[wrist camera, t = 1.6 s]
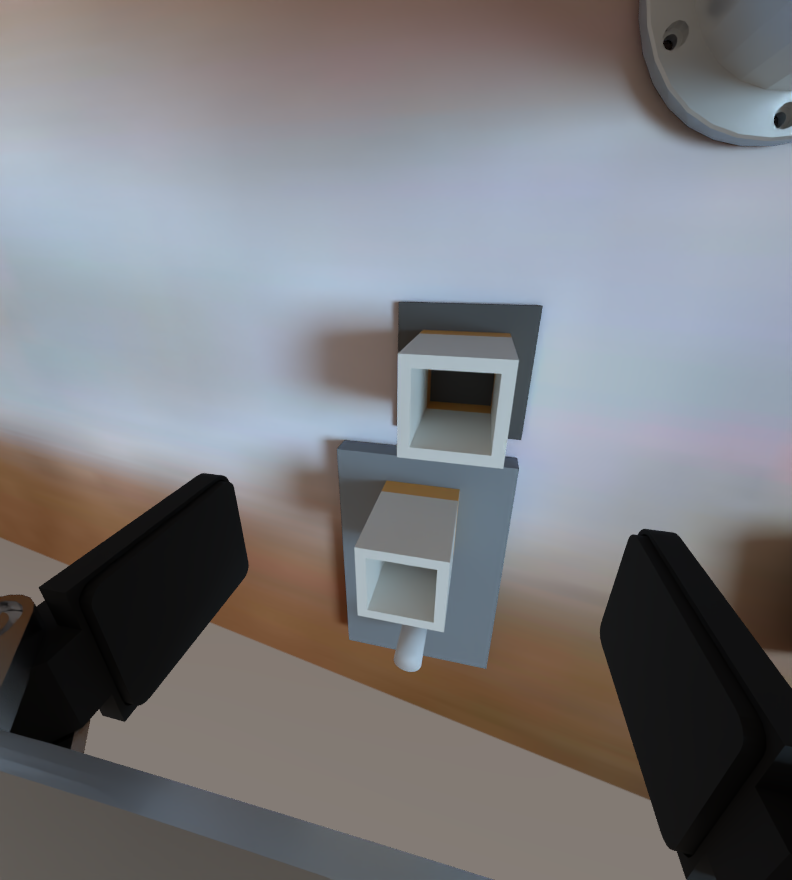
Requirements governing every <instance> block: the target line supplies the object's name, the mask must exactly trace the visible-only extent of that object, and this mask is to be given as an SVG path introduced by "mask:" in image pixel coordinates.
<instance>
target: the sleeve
mask: <svg viewBox="0 0 792 880" xmlns="http://www.w3.org/2000/svg"><path fill="white" fill-rule="evenodd" d="M518 363H519V359H518V356H517V353H516V349H515V346H514V343H513V340H512V337H511V334H510V333H488V332H464V331H440V330H422V331H421V332H420V333H419V334H418V335H417V336H416V337H415V338H414V339H413V340H412V341H411V342H410V343H409V344H408V345H406V346H405V347H404V348H403V349H402V350H401V351H400V352H399V353H398V390H397V457H399V458H409V459H418V460H427V461H436V462H445V463H454V464H463V465H472V466H481V467H491V468H500V469H503V467H504V460H505V454H506V447H507V440H508V433H509V426H510V419H511V412H512V405H513V398H514V391H515V384H516V377H517V370H518ZM431 369H432V370H448V371H464V372H480V373H495V374H494V383H493V391H492V400H491V406H486V405H474V404H461V403H448V402H435V401H430V388H431Z"/></svg>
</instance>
